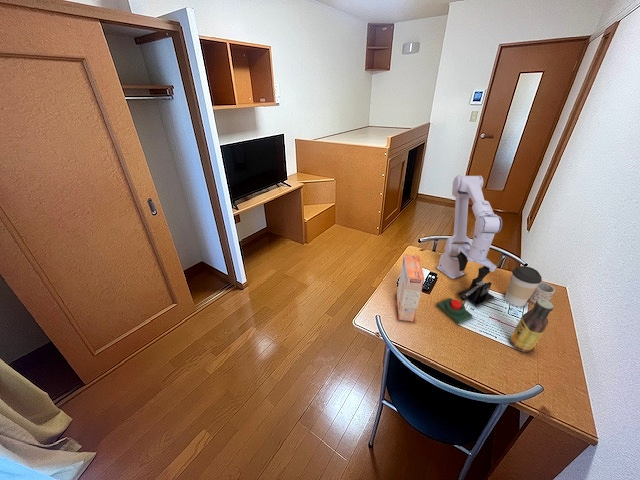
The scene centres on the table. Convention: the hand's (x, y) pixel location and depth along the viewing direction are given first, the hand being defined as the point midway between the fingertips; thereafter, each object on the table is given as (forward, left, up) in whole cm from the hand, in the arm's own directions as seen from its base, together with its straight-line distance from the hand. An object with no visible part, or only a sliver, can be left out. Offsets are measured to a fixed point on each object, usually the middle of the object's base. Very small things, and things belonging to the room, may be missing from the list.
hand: (470, 275), depth 101 cm
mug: (+13, +24, -11) cm, 29 cm away
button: (+5, -11, -7) cm, 14 cm away
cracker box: (-5, -26, -11) cm, 28 cm away
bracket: (+3, +4, -10) cm, 12 cm away
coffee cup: (+11, +16, -11) cm, 22 cm away
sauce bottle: (+25, -3, -11) cm, 27 cm away
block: (+5, -11, -10) cm, 16 cm away
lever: (+3, 0, -7) cm, 7 cm away
